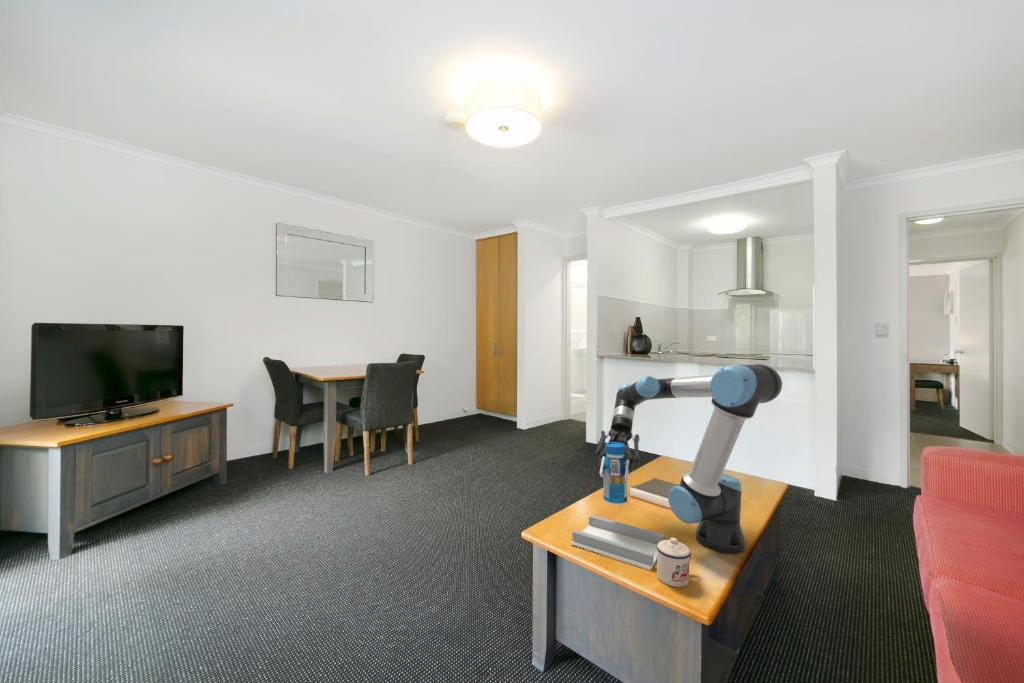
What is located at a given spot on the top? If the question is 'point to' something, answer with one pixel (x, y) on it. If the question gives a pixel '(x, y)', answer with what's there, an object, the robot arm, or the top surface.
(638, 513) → the top surface
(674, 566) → the teacup with lid
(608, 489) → the beverage bottle
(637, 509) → the top surface
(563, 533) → the top surface
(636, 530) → the tray
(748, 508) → the top surface
